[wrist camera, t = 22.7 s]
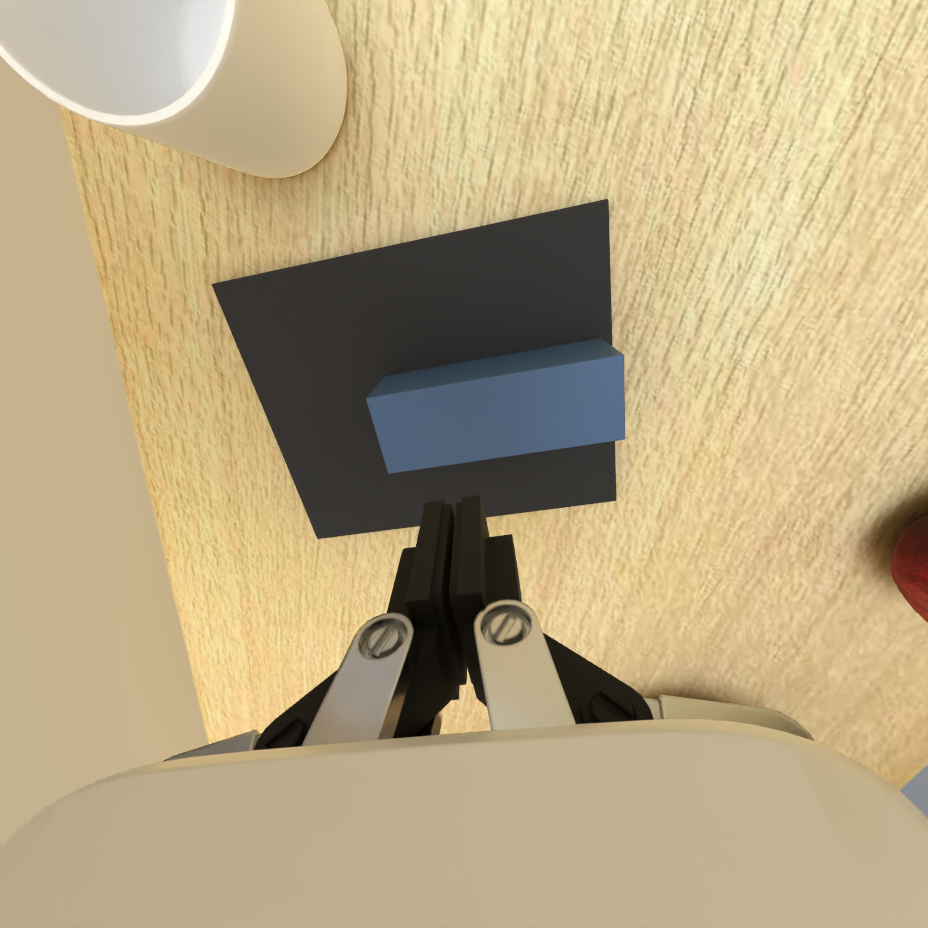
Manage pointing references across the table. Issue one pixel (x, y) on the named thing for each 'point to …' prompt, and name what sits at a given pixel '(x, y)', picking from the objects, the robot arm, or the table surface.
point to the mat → (421, 360)
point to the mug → (191, 73)
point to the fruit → (913, 565)
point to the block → (500, 406)
